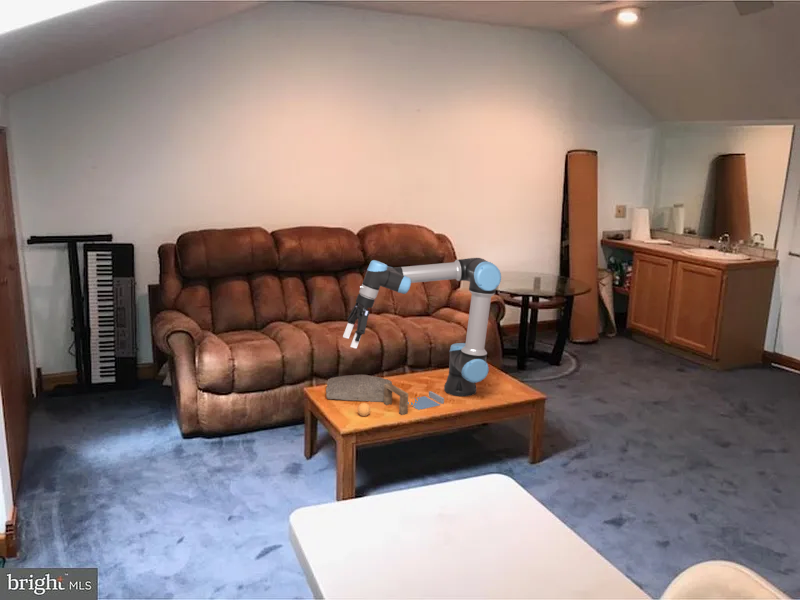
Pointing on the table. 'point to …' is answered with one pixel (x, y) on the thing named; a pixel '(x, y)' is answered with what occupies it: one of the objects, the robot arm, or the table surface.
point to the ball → (363, 409)
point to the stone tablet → (356, 388)
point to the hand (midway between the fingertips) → (349, 342)
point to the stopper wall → (436, 397)
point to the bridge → (403, 395)
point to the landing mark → (424, 403)
